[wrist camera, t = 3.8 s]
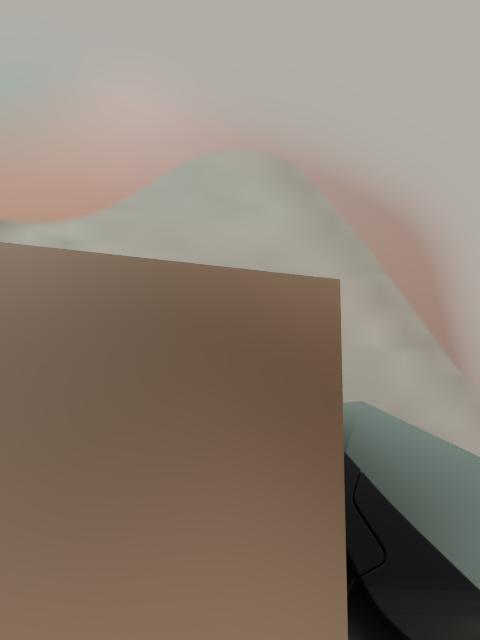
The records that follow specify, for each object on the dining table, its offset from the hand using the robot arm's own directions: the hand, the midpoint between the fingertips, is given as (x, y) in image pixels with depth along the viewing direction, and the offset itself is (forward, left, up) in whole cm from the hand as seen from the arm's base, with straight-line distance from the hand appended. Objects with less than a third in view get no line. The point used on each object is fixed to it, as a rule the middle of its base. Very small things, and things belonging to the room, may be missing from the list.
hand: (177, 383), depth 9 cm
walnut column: (-1, 0, -7) cm, 7 cm away
